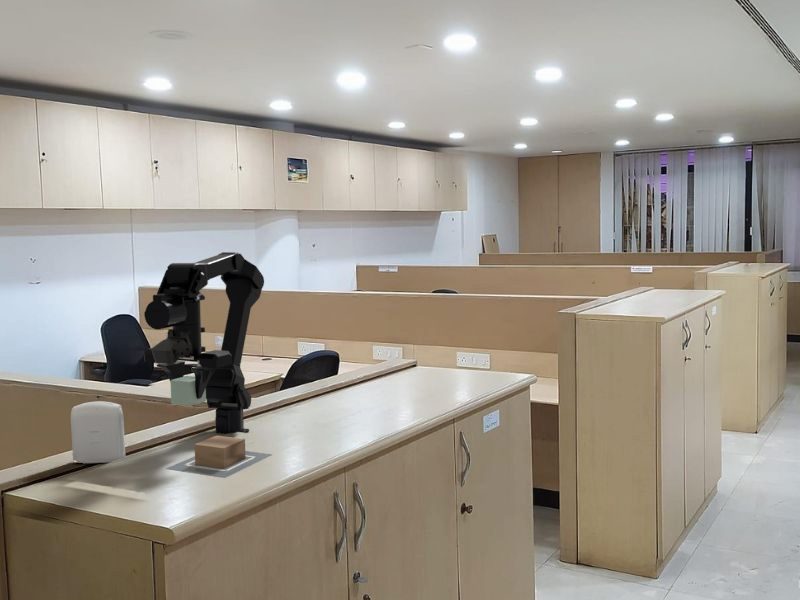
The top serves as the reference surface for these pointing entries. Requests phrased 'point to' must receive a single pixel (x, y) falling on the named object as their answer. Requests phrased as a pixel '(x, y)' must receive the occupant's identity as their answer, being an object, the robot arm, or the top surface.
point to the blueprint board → (219, 472)
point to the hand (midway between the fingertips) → (188, 397)
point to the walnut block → (220, 451)
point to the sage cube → (185, 391)
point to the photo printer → (97, 432)
